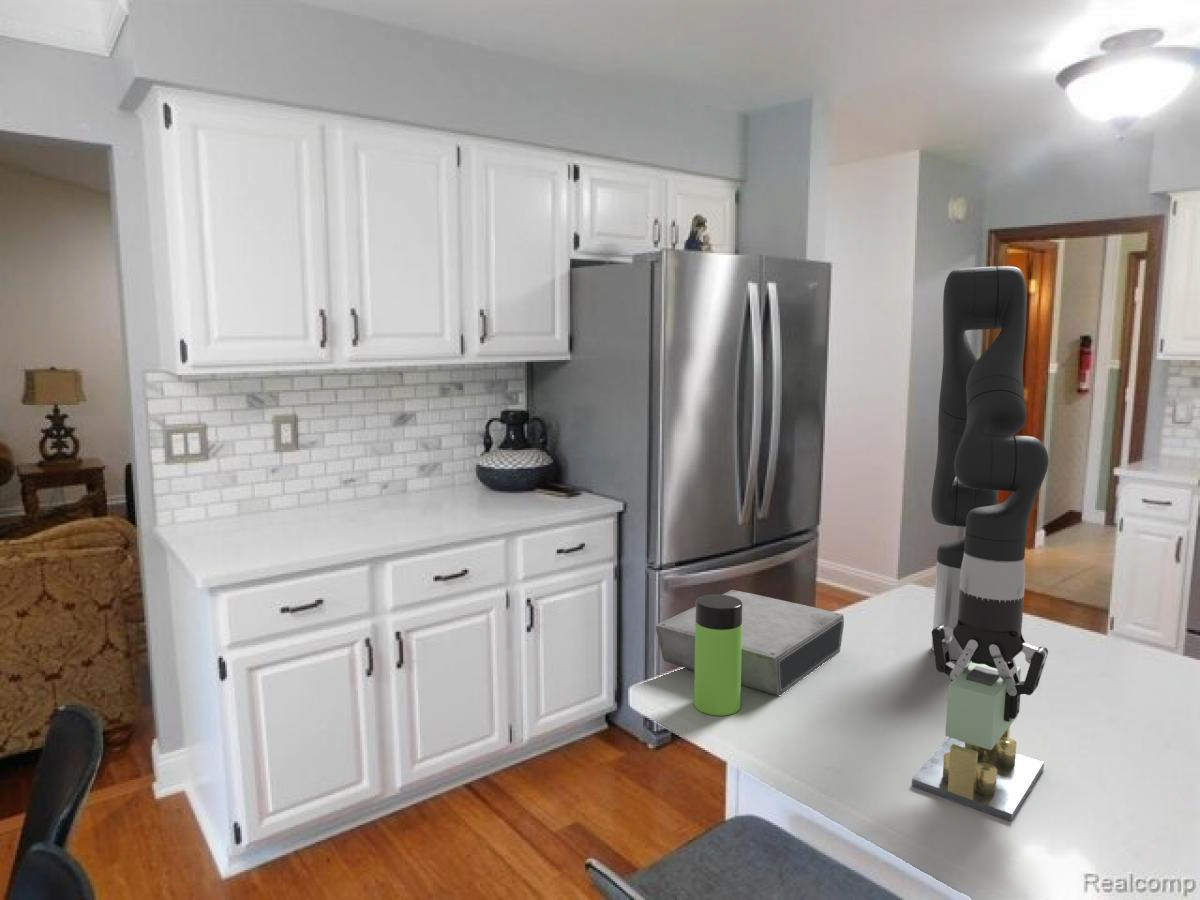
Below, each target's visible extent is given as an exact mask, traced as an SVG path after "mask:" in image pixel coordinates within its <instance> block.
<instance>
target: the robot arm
mask: <svg viewBox="0 0 1200 900" xmlns="http://www.w3.org/2000/svg"><path fill="white" fill-rule="evenodd" d="M1027 291H1028V290H1027V282H1026V278H1025V275H1024V273H1023V271H1022V270H1021V269H1020V268H1018V267H1016V266H1008V265H1007V266H1006V265H1002V266H983V267H982V266H981V267H980V266H977V267H964V268H963V267H962V268H956V269H954V270H952V271H950V272H949V273H948V276H947V277H946V280H945V283H944V289H943V299H942V300H943V302H942V328H943V331H942V332H943V333H942V336H943V340H942V341H943V344H942V345H943V352H942V353H943V356H942V357H943V359H942V373H941V382H940V383H941V384H940V392H939V403H938V416H937V417H938V418H937V419H938V420H937V421H938V422H937V454H936V456H937V457H936V463H935V471H934V479H933V486H932V492H931V493H932V494H931V513H932V518H933V519H934V520H935V522H936V523H938V524H941V525H943V526H951V527H960V528H962V527H963V528H965V531H964V532H965V534H964V537H962V538H958V539H954V540H950V541H945V542H942V543H941V544H940V545H939V546H937V547H938V548H937V552H936V553H937V554H936V568H935V569H936V571H935V585H934V586H935V588H934V603H933V605H934V606H933V619H932V620H933V622H932V623H933V624H932V630H931V638H932V639H931V651H933V653H934V660H935V666H936V668H935V669H936V670H937V671H938V672H939V673H944V674H946V675H947V676H948V677H949V678H950V683H951V682H952V681H953V680H954V679H955V678H956V677H957V676H958V675H959V674H960V673H963V672H964V670H965V669H966V668H968V667H969V665H970V664H971V663H976V664H985V665H987V666H989V667H992V668H996V669H997V670H998V673H999V676H1000V678H1001V679H1002V680H1003V682H1004V684H1006V690H1007V693H1006V694H1005V707H1004V721H1007V722H1010V721H1011V720H1012V719H1015V717H1016V716H1017V717H1018V715H1019V714H1020V706H1021V705H1020V704H1021V696H1022V695H1026V696H1031V695H1033V693H1034V692H1035V691H1036V689H1037V688H1038V686H1039V683H1040V680H1041V677H1042V673H1043V671H1044V669H1045V668H1044V667H1045V664H1046V661H1047V658H1048V654H1049V649H1048V648H1047V647H1046V646H1039V647H1037V646H1034V645H1032V644H1029V643H1026V641H1025V639H1024V636H1023V634H1022V630H1023V629H1022V628H1023V615H1024V613H1023V612H1024V601H1025V600H1024V599H1025V588H1026V587H1025V586H1026V567H1025V565H1026V563H1025V558H1026V542H1027V531H1028V525H1029V520H1030V516H1031V513H1032V511H1033V510H1032V509H1033V507H1034V504H1035V501H1036V499H1037V497H1038V495H1039V494H1038V493H1039V491H1040V489H1041V487H1042V485H1043V481H1044V479H1045V477H1046V474H1047V472H1048V467H1049V454H1048V451H1047V450H1048V449H1047V447H1045V444H1043V443H1042V441H1041V440H1040V439H1038V438H1037V437H1035V436H1029V435H1015V434H1017V433H1019V432H1020V431H1021V430H1022V429H1023V427H1024V426H1025V424H1026V420H1027V407H1026V398H1025V388H1024V376H1023V375H1024V373H1023V371H1024V370H1023V367H1024V355H1025V347H1026V346H1025V345H1026V344H1025V343H1026V332H1027V331H1026V330H1027V328H1026V327H1027V308H1028V307H1027V305H1028V304H1027V303H1028V296H1027V295H1028V293H1027ZM975 330H976V331H978V330H1000V331H999V334H998V335H997V337H996V338H995V340H994V341H993V342H992V343H991V345H990V346H989V347H988V348H987V349H986V350H985V351H984V352H983V353H982V354H981V355H980V357H979V358H978V356H977V355H976V354H975V352H974V350H973V349H972V347H971V345H970V342H969V339H968V337H967V334H966V331H975ZM999 491H1000V492H1001V491H1003V492H1011V493H1010V495H1009V496H1008V498H1006V499H1005V500H1004V501H1003V502H1001V503H998V502H999ZM1021 652H1022V653H1023V654H1024V656H1025V657H1024V658H1025V661H1026V663H1027V664H1029V666H1028V670H1027V673H1026V676H1025V678H1024V681H1022V680H1021V678H1020V679H1019V676H1018V673H1017V667H1016V666H1017V664H1016V662H1015V659H1014V658H1016V656H1018V655H1019V654H1020V653H1021ZM952 660H953V661H956V663H955V664H954V663H953V662H952ZM1002 668H1003V669H1002ZM1015 720H1016V719H1015Z"/></svg>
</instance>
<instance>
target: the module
mask: <svg viewBox="0 0 1200 900" xmlns="http://www.w3.org/2000/svg"><path fill="white" fill-rule="evenodd" d="M1016 667H1017V673H1018V676H1019V679H1020V680H1021V672H1022V668H1021V666H1017V665H1016ZM1002 669H1003V668H1002ZM1006 693H1007V690H1006V684H1004V682H1003V680H1002V679H1001V678H1000V676H999V673H998V670H997V669H996V668H992V667H989V666H987V665H985V664H976V663H972V662H971V664H970V665H969V667H968V668H966V669H965V670H964V672H963V673H960V674H959V675H958V676H957V677H956V678H955V679H954V680H953V681H952V682H951V681H950V682H949V684H948V689H947V701H946V703H947V704H946V719H945V720H946V722H945V734H944V735H945V737H948V738H949V737H950V738H953V739H957V740H960V741H963V742H966V743H969V744H973V745H976V746H979V747H982V748H985V749H989V750H992V748H993V747H994V746H995V744H996V743H997V742H998V741H999V739H1000V738H1001V737H1002V735H1003V734H1004V733H1005V732H1006V730H1007V729H1008V728H1009V727H1010V728H1011V726H1012V724H1013V722H1014V721H1015V720H1016V719H1017V718H1018V715H1017V716H1016V717H1015V719H1012V720H1011V721H1010V722H1007V721H1004V707H1005V694H1006Z"/></svg>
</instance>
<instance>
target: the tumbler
mask: <svg viewBox="0 0 1200 900" xmlns="http://www.w3.org/2000/svg"><path fill="white" fill-rule="evenodd" d="M695 607H696V615H695V671H694V683H693V684H694V685H693V688H694V689H693V690H694V691H693V693H694V694H693V695H694V696H693V698H694V699H693V705H694V707H695V708H696V709H697V710H698V711H699V712H701V713H704V714H707V715H711V716H717V717H720V716H721V717H724V716H730V715H733V714H736V713H737V712H738V711H739V710H741V709H740V708H741V691H742V688H741V686H742V685H741V651H742V608H743V603H742V601H741V600H739V599H738V598H735V597H732V596H728V595H722V594H718V593H717V594H707V595H706V594H705V595H702V596H699V597H697V599H696V600H695Z"/></svg>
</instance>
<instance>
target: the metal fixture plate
mask: <svg viewBox="0 0 1200 900" xmlns="http://www.w3.org/2000/svg"><path fill="white" fill-rule="evenodd" d="M1010 732H1011V726H1010V727H1009V728H1008V729H1007V730H1006V732H1005V733H1004V734H1003V735H1002V737H1001V738H1000V739H999V741H998V742H997V743H996V744H995V746H994V747H993V748H992V750H989V749H985V748H982V747H979V746H976V745H973V744H969V743H966V742H963V741H960V740H957V739H953V738H950V737H948V738H947V739H946V740H945V741H944V743H942V745H941V746H940V747H939V748H938V749H937V750H936V752H935V753H933V755H931V757H930V758H929V759H927V762H925V764H924V765H923V766H921V768H920V769H919V770H918V771H917V772H916V774H915V775H914V776H913V777H912V778H911V787H914V788H917V789H919V790H922V791H925V792H928V793H930V794H933V795H935V796H939V797H941V798H945V799H947V800H949V801H954V802H955V803H958V804H962V805H963V806H967V807H969V808H971V809H972V808H973V809H975V810H979V811H981V812H984V813H985V814H989V815H991V816H995V817H998V818H1001V819H1003V820H1006V821H1009V822H1012V821H1013V819H1014V818H1015V816H1016V815H1017V813H1018V811H1019V810H1020V808H1021V806H1022V805H1023V803H1024V801H1025V800H1026V799H1027V797H1028V795H1029V793H1030V792H1031V790H1032V788H1033V787H1034V785H1035V783H1036V782H1037V780H1039V779H1038V778H1039V777H1040V776H1041V773H1042V772H1043V771H1044V766H1045V761H1042V760H1038V759H1035V758H1032V757H1029V756H1026V755H1023V754H1020V753H1016V752H1017V741H1016V740H1014V739H1013V738H1011V737H1010Z"/></svg>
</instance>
